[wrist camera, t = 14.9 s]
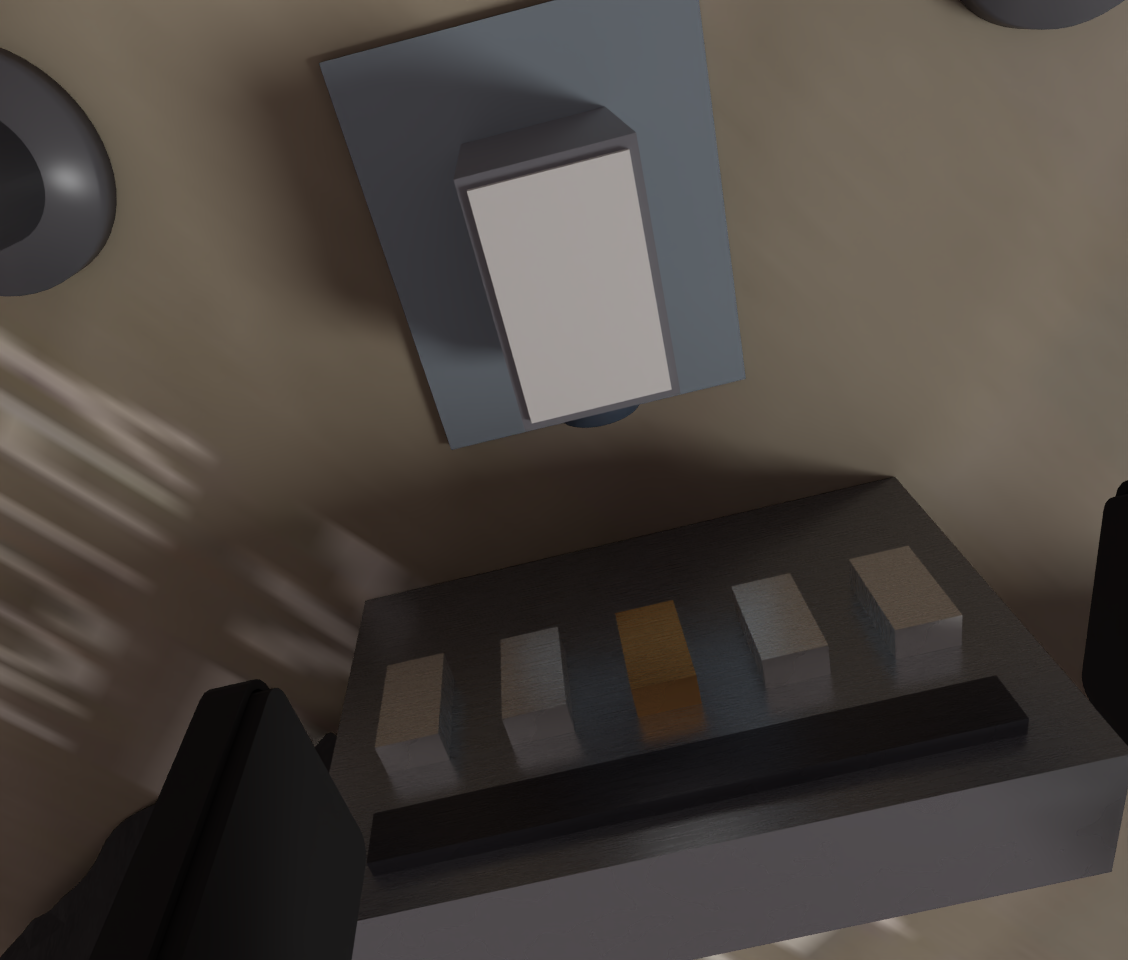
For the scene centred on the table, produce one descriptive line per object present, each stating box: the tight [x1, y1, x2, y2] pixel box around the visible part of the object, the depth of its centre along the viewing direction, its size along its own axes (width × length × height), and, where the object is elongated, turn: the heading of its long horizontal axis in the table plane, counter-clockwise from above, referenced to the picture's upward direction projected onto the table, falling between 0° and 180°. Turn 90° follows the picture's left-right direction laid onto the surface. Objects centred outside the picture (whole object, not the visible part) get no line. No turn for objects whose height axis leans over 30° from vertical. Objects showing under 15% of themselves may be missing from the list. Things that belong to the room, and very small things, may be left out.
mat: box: [319, 0, 746, 450], centre depth 27 cm, size 11×13×1 cm
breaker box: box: [329, 477, 1128, 960], centre depth 28 cm, size 22×6×14 cm, turn 103°
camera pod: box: [453, 107, 681, 432], centre depth 24 cm, size 4×8×6 cm, turn 13°
